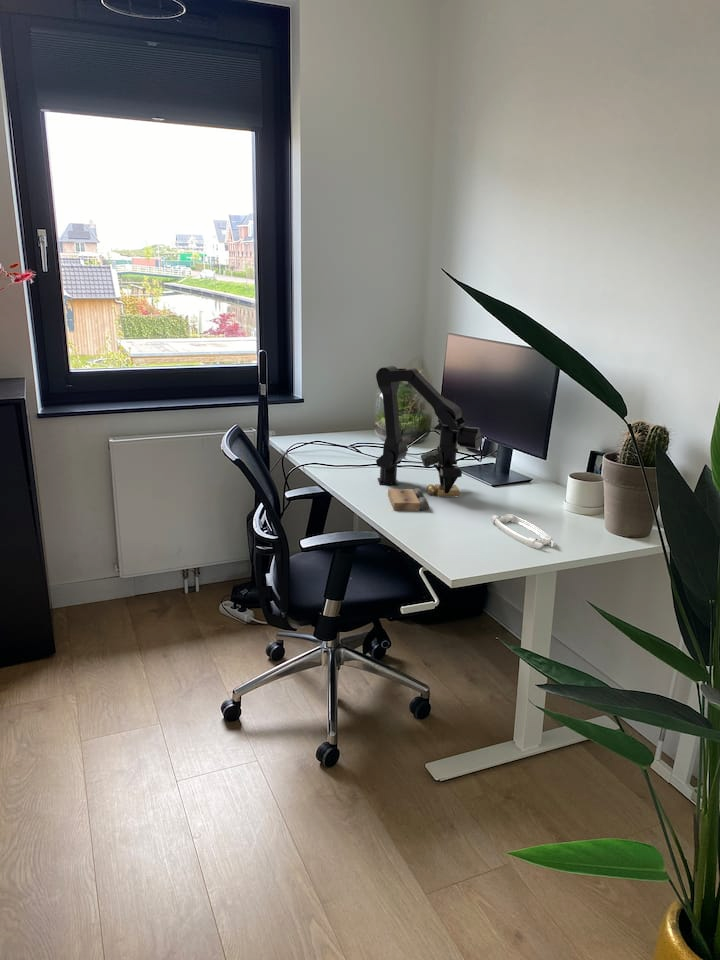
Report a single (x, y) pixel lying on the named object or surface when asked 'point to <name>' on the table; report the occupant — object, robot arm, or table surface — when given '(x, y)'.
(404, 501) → the tan flat piece
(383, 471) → the robot arm
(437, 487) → the tan knobbed block
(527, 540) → the door handle
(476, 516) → the table surface
